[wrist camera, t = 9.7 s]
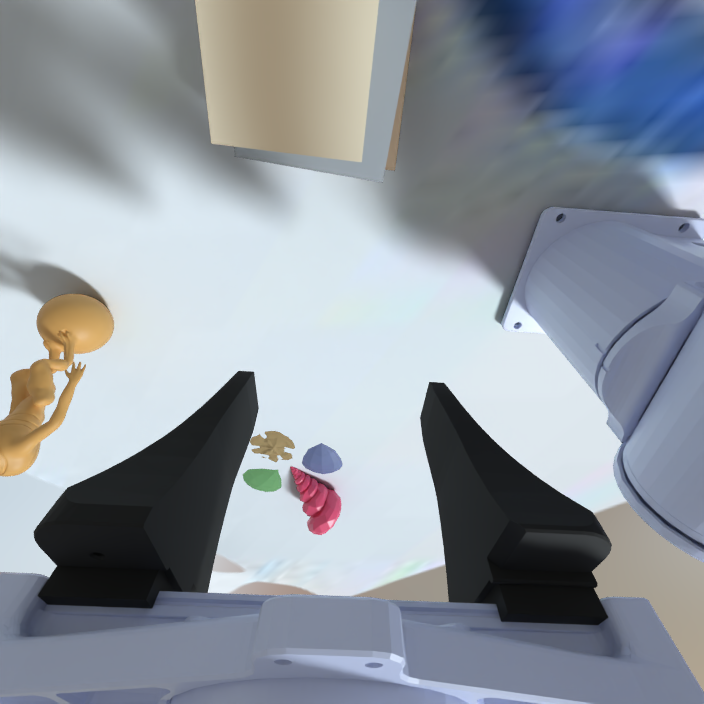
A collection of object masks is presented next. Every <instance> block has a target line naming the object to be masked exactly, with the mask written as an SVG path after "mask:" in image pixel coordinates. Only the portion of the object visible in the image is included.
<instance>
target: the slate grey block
mask: <svg viewBox="0 0 704 704" xmlns="http://www.w3.org/2000/svg"><path fill="white" fill-rule="evenodd" d="M416 1H417V0H379V6H378V16H377V25H376V34H375V44H374V53H373V62H372V71H371V81H370V90H369V99H368V109H367V118H366V127H365V137H364V146H363V155H362V162H355V161H346V160H338V159H330V158H322V157H314V156H306V155H298V154H290V153H282V152H274V151H266V150H258V149H250V148H242V147H234V151H235V157H240V158H246V159H252V160H257V161H263V162H269V163H274V164H280V165H285V166H291V167H297V168H302V169H308V170H314V171H319V172H325V173H331V174H336V175H342V176H348V177H353V178H359V179H364V180H370V181H376V182H381V183H383V178H384V173H385V167H386V162H387V157H388V151H389V146H390V141H391V135H392V130H393V125H394V119H395V114H396V108H397V103H398V98H399V92H400V87H401V82H402V76H403V71H404V66H405V60H406V55H407V49H408V44H409V39H410V33H411V28H412V23H413V17H414V12H415V7H416Z"/></svg>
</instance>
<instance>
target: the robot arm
mask: <svg viewBox="0 0 704 704" xmlns="http://www.w3.org/2000/svg"><path fill="white" fill-rule="evenodd" d="M559 214H563V216H562V218H561V220H559V221H556V218H557V216H558V215H559ZM683 224H684V226H683V227H682V228H681V229H680V230H679V227H680V226H681V225H683ZM703 239H704V219H702V218H689V217H676V216H663V215H651V214H638V213H625V212H613V211H600V210H587V209H574V208H562V207H549V208H547V209H545V210H544V211H543V212H542V214H541V216H540V219H539V222H538V224H537V227H536V230H535V232H534V235H533V238H532V241H531V243H530V246H529V249H528V251H527V254H526V257H525V260H524V262H523V265H522V268H521V270H520V273H519V276H518V279H517V281H516V284H515V287H514V289H513V292H512V295H511V298H510V300H509V303H508V306H507V308H506V311H505V314H504V317H503V319H502V322H501V325H502V327H503V329H504V330H506V331H515V332H529V333H542V334H547V335H548V337H549V338H550V339H551V340H552V341H553V343H554V344H555V345H556V346H557V348H558V349H559V350H560V351H561V352H562V354H563V355H564V356H565V357H566V358H567V360H568V361H569V362H570V363H571V365H572V366H573V367H574V368H575V369H576V371H577V372H578V373H579V374H580V375H581V377H582V378H583V379H584V380H585V381H586V383H587V384H588V385H589V386H590V388H591V389H592V390H593V391H594V392H595V394H596V395H597V396H598V397H599V398H600V400H601V401H602V402H603V403H604V405H605V406H606V408H607V409H608V413H609V417H608V420H607V425H608V426H609V427H610V428H611V430H612V431H613V432H614V434H615V435H616V436H617V437H618V439H619V440H620V441H621V443H623V444H621V446H620V447H619V449H618V451H617V453H616V455H615V457H614V464H613V469H614V476H615V479H616V482H617V485H618V487H619V489H620V491H621V493H622V494H623V496H624V498H625V499H626V500H627V502H628V503H629V504H630V506H631V507H632V509H633V510H634V511H635V512H636V513H637V514H638V515H639V516H640V517H641V518H642V519H643V520H644V521H645V522H646V523H647V524H648V525H649V526H650V527H651V528H652V529H654V530H655V531H656V532H657V533H658V534H659V535H661V536H662V537H664V538H665V539H666V540H668V541H669V542H670V543H672V544H673V545H674V546H676V547H677V548H679V549H681V550H682V551H684V552H686V553H687V554H689V555H690V556H692V557H694V558H696V559H698V560H700V561H702V562H704V241H703ZM517 322H520V323H519V324H518V325H517V326H514V324H515V323H517ZM258 409H259V408H258V400H257V392H256V385H255V377H254V372H247V371H238V372H237V373H236V374H235V375H234V376H233V377H232V378H231V379H230V380H229V381H228V382H227V383H226V384H225V385H224V386H223V387H222V388H221V389H220V390H219V391H218V392H217V393H216V394H215V395H214V396H213V397H212V398H211V399H209V400H208V401H207V402H206V403H205V404H204V405H203V406H202V407H201V408H200V409H198V410H197V411H196V412H195V413H194V414H193V415H191V416H190V417H189V418H188V419H187V420H185V421H184V422H183V423H182V424H180V425H179V426H178V427H176V428H175V429H174V430H172V431H171V432H170V433H168V434H167V435H165V436H164V437H162V438H161V439H159V440H158V441H156V442H155V443H153V444H151V445H150V446H148V447H147V448H145V449H143V450H142V451H140V452H139V453H137V454H135V455H133V456H132V457H130V458H128V459H126V460H124V461H123V462H121V463H119V464H117V465H115V466H113V467H111V468H109V469H107V470H105V471H103V472H101V473H99V474H97V475H95V476H93V477H90V478H88V479H86V480H84V481H82V482H80V483H77V484H75V485H73V486H71V487H68V488H67V489H66V490H65V492H64V493H63V494H62V495H61V496H60V498H59V499H58V500H57V501H56V503H55V504H54V505H53V507H52V508H51V509H50V510H49V512H48V513H47V514H46V516H45V517H44V518H43V520H42V521H41V522H40V524H39V525H38V526H37V528H36V529H35V531H34V538H35V541H36V543H37V544H38V545H39V547H40V548H41V549H42V550H43V551H44V552H45V553H46V554H47V555H48V556H49V557H50V559H51V560H52V561H53V562H54V563H55V564H56V565H57V567H56V569H55V570H54V571H53V573H52V575H51V576H50V578H49V577H47V576H44V575H41V574H33V573H7V572H0V704H704V692H703V690H702V688H701V687H700V685H699V684H698V682H697V680H696V678H695V677H694V675H693V673H692V672H691V670H690V669H689V667H688V665H687V664H686V662H685V660H684V659H683V657H682V655H681V654H680V652H679V650H678V649H677V647H676V646H675V644H674V642H673V640H672V639H671V637H670V636H669V634H668V632H667V630H666V629H665V627H664V625H663V624H662V622H661V621H660V619H659V617H658V615H657V614H656V612H655V610H654V609H653V608H652V606H651V604H650V602H649V601H648V600H647V599H645V598H632V597H606V598H602V599H600V600H599V598H598V596H597V594H596V592H595V590H594V588H596V587H597V582H596V579H595V577H594V575H593V574H592V571H593V570H594V569H595V568H596V567H597V566H598V565H599V564H600V563H601V562H602V561H603V560H604V559H605V558H606V557H607V556H608V554H609V553H610V551H611V546H612V545H611V542H610V540H609V538H608V537H607V535H606V533H605V532H604V530H603V528H602V526H601V525H600V523H599V522H598V520H597V518H596V517H595V515H594V514H593V512H591V511H590V510H588V509H586V508H585V507H583V506H581V505H580V504H578V503H576V502H575V501H573V500H571V499H570V498H568V497H566V496H565V495H563V494H561V493H560V492H558V491H557V490H555V489H554V488H552V487H551V486H549V485H548V484H547V483H545V482H544V481H542V480H541V479H539V478H538V477H537V476H535V475H534V474H533V473H531V472H530V471H529V470H527V469H526V468H525V467H524V466H522V465H521V464H520V463H518V462H517V461H516V460H515V459H514V458H512V457H511V456H510V455H509V454H508V453H507V452H506V451H505V450H503V449H502V448H501V447H500V446H499V445H498V444H497V443H496V442H495V441H494V440H493V439H492V438H491V437H490V436H489V435H488V434H487V433H486V432H485V431H484V430H483V429H482V428H481V427H480V426H479V425H478V424H477V423H476V421H475V420H474V419H473V418H472V417H471V416H470V414H469V413H468V412H467V411H466V410H465V409H464V407H463V406H462V405H461V404H460V402H459V401H458V400H457V399H456V397H455V396H454V395H453V394H452V392H451V391H450V390H449V388H448V387H447V386H446V385H445V384H444V383H437V382H429V386H428V389H427V393H426V397H425V401H424V405H423V409H422V413H421V417H420V419H421V428H422V436H423V442H424V446H425V450H426V455H427V459H428V463H429V467H430V470H431V474H432V478H433V482H434V486H435V491H436V496H437V501H438V508H439V515H440V522H441V530H442V538H443V545H444V555H445V564H446V573H447V584H448V596H449V602H428V601H401V600H385V599H379V598H372V597H350V596H324V595H298V594H291V595H278V596H274V595H248V594H222V593H208V588H209V583H210V578H211V573H212V568H213V563H214V559H215V555H216V551H217V546H218V542H219V537H220V533H221V529H222V525H223V521H224V517H225V513H226V509H227V505H228V502H229V498H230V494H231V490H232V487H233V484H234V481H235V478H236V476H237V473H238V470H239V468H240V465H241V462H242V460H243V457H244V454H245V452H246V449H247V446H248V444H249V441H250V438H251V436H252V433H253V430H254V426H255V422H256V417H257V413H258Z"/></svg>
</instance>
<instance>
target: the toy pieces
mask: <svg viewBox="0 0 704 704" xmlns="http://www.w3.org/2000/svg"><path fill="white" fill-rule="evenodd" d="M265 434H266V435H267V438H266V439H264V438H262V437H261V436H260V434H259V435H258V436H255V437H252V439H251V440H250V443H251V444H252V445H256V446H260V448H257V449H252V451H253V452H254V453H257V454H258V453H260V454H266V455H269V459H270V460H272V461H274V462H277V460H278V458H277V455H280V456H281V457H282V458H283V459H281V460H289V459H291V458H292V455H291V454H290V453H286V452H283V451H284V449H285V448H284V447H288V448H292V449H294V448H295V446H294V443H293V442H292V440H290V439H289V438H288V437H287V436H285V435H283V434H281V433H280V432H276V431H268V432H265ZM263 458H265V457H263ZM302 464H303V465H304V466H305V468H307V469H309V470H311V471H313V472H316V473H321V474H326V473H332V472H334V471H337V470H339V469H340V468H341V467H342V461H341V458H340V457H339V456H338V454H337V453H336V451H335V450H333V449H331V448H330V447H328V446H326V445H324V444H322V443H321V444H319V445H317V446H314V447H312V448H310V449H308V451H307V453H306V454H305V456H304V457H303V461H302ZM290 468H291V472H292V475H294V476H293V478H294V479H295V481H294V482H295V483H296V485H297V487H296V488H297V491H298V492H300V501H302V502H304V504H303V507H302V508H303V511H304V512H305V513H306V514H307V516H311V517H310V519H309V520H308V522H307V525H308V528H309V531H311V532H312V533H314V534H318V535H322V534H324V533H326V532H327V531H328V530H329V529H331V528H332V527H333V526H334V524H335V522H336V520H337V519H338V517H339V515H340V511H341V499H340V497H339V496H338V495H337V493H336V492H335V491H334V490H331V489H327V488H326V487H325V486H324V484H321V483H318V482H317V481H316V479H314V478H310V476H309V475H305V473H304V472H301V470H298V469H297V468H295V467H290ZM243 478H244V481H245V482H246V483H247V484H248V485H249V486H251V487H252V488H254V489H257V490H260V491H265V492H270V491H276V490H278V489H279V488H281V478H280V475H279V473H278V470H269V469H250V470H247V471H246V472H245V473H244V474H243Z"/></svg>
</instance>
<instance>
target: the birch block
mask: <svg viewBox="0 0 704 704" xmlns="http://www.w3.org/2000/svg"><path fill="white" fill-rule="evenodd" d="M195 5H196V14H197V23H198V31H199V40H200V49H201V58H202V67H203V75H204V84H205V93H206V102H207V111H208V120H209V128H210V137H211V144H218V145H226V146H234V147H242V148H250V149H258V150H266V151H274V152H282V153H290V154H298V155H306V156H314V157H322V158H330V159H338V160H346V161H355V162H362V155H363V146H364V137H365V127H366V118H367V109H368V99H369V90H370V81H371V71H372V62H373V53H374V44H375V34H376V25H377V16H378V6H379V0H195Z"/></svg>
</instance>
